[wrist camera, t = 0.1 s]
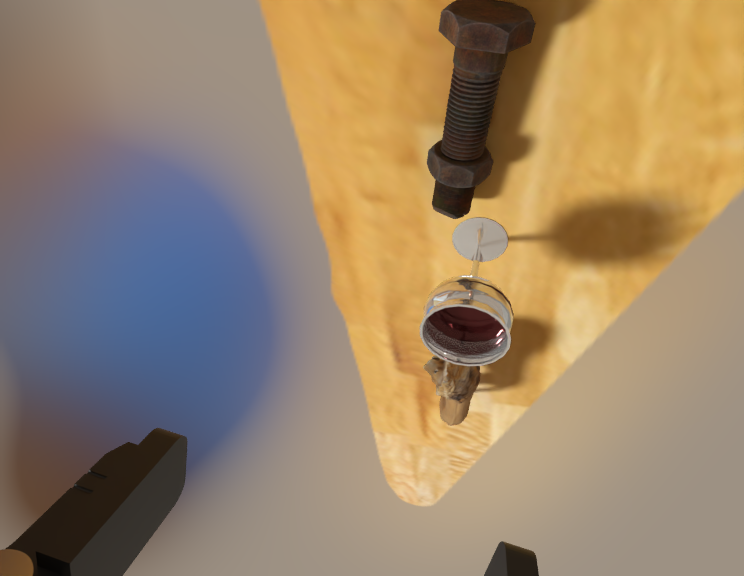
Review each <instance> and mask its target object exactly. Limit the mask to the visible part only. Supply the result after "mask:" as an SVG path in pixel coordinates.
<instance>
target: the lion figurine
mask: <svg viewBox="0 0 744 576" xmlns="http://www.w3.org/2000/svg"><path fill="white" fill-rule="evenodd" d="M423 368H424V370H426V371H427V372H428V373H429V374H430V375H431V377H432V381H433V382H434V383H435V384H436V395H439V396H441V399H440V405H439V406H440V416H441V419H442V420H443V421H444V422H446V423H447V424H448V425H450V426H452V425H457V424H460V423H461V422H462V421H463V420H464V419H465V418H466V416H467V414H468V410H469V405H470V400H471V398H472V395H473V392H474V391H475V390H476V388H477V386H478V384H479V381H480V372H479V371H480V366H463V365H457V364H453V363H450V362H448V361H445V360H442V359H440V358H439V357H438V356H433V357H432V359H431V360H429V361H428V362H427V364H425V365H424V366H423Z"/></svg>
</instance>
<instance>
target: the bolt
mask: <svg viewBox="0 0 744 576" xmlns="http://www.w3.org/2000/svg"><path fill="white" fill-rule="evenodd" d="M534 27H535V21H534V19H533V17H532V15H531V14H530V12H529V11H528V10H527V9H525V8H523V7H520V6H517V5H514V4H512V3H508V2H504V1H495V0H456V1H454V2H452V3H451V4H449V5H448V6H447V7H446V8H445V9H444V10H443V11H442V12H441V18H440V25H439V32H440V33H442V34H443V35H444V36H445V37H446V38H447V39H448V40H449V41H450V42H451V43H452V44H453V45H454V46H455V52H454V59H453V63H454V69H453V74H452V80H451V82H452V83H451V89H450V94H449V99H448V104H447V112H446V117H445V126H444V131H443V132H444V134H443V138H442V140H440V141H439V142H437V143H436V144H435V145H434V146H433V147H432V148H431V149H430V150H429V152H428V159H427V165H428V168H429V171H430V173H431V175H432V176H433V177H434V178H435V179H436V181H435V188H434V195H433V201H432V205H433V209H434V210H435V211H437V212H439V213H441V214H443V215H446V216H448V217H450V218H453V219H457V218H460V217H463V216H464V215H466V214H468V213H469V211H470V207H471V201H472V198H473V194H474V189H475V186H476V185H479V184H480V183H481V182H483V181H484V180H485V179H486V178H487V177H488V176H489V175H490V173H491V169H492V165H493V159H492V157H491V154H490V152H489V151H488V149H487V148H486V147H485V141H486V137H487V133H488V128H489V124H490V119H491V115H492V112H493V111H492V110H493V108H494V106H493V105H494V103H495V99H496V95H497V90H498V86H499V81H500V78H501V77H500V76H501V74H502V70H503V69H504V67H505V63H506V59H507V54H508V52H510V51H512V50H514V49H517V48H519V47H521V46H524V45H526V44H529V43H531V39H532V35H533V31H534Z"/></svg>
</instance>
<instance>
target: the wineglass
mask: <svg viewBox="0 0 744 576" xmlns="http://www.w3.org/2000/svg"><path fill="white" fill-rule="evenodd" d="M452 242H453V244H454V247H455V249H456V250H457V251H458V253H459V254H460V255H462V256H463V257H465V258H466V259H469V260H472V261H473V264H472V268H471V272H470V276H467V275H464V276H456V277H452V278H449V279H447V280H445V281H443V282H441V283H440V284H439V285H438V286H437V287H436V288H435V289H434V290H433V291H432V292H431V293H430V295H429V297H428V300H427V302H426V304H425V306H424V318H423V321H422V323H421V325H420V337H421V339H422V341H423V343H424V345H425V346H426V347H427V348H428V349H429V350H430V351H431V352H432V353H433V354H434V355H436V356H438V357H439V358H441V359H442V360H445V361H448V362H450V363H453V364H457V365H463V366H483V365H486V364H490V363H493V362H495V361H497V360H498V359H500V358H502V357H503V356H504V355H505V354H506V352H507V351H508V350H509V348H510V343H511V336H510V332H511V329H512V324H513V311H512V308H511V304H510V301H509V300H508V298H507V296H506V295H505V293H504V292H503V291H502V290H501V288H500V287H498V286H497V285H495V284H494V283H492V282H491V281H489V280H486V279H483V278H480V277H478V272H479V262H485V261H491V260H493V259H495V258H498V257H499V256H500V255H501V254H502V253H503V252H504V251H505V249H506V247H507V243H508V238H507V234H506V232H505V230H504V229H503V227H502V226H501V225H499V224H498V223H497V222H495V221H493V220H490V219H487V218H472V219H468V220H466V221H464V222H462V223H460V224H459V225H458V226H457V227H456V229H455V231H454V233H453V241H452Z"/></svg>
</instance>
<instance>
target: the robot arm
mask: <svg viewBox="0 0 744 576" xmlns="http://www.w3.org/2000/svg"><path fill="white" fill-rule="evenodd" d="M186 457H187V438H186V437H185V436H182V435H179V434H176V433H173V432H170V431H167V430H164V429H161V428H156V429H154V430H153V431H152V432H150V433H149V434H148V435H147V437H145V439H144V440H143V441H142V442H141V443H140V444H139V445H136V444H133V443H130V442H128V443H126V444H124V445H122V446H120V447H118V448H116V449H114V450H112V451H110V452H108V453H107V454H105V455H104V456H103V457H102V458H101V459H100V460H99V461H98V462H97V463H96V464H95V465H94V466H93V467H92V468H91V469H90V470H89V472H88V473H87V474H84V475H83V476H82V477H81V478H80V479H79V480H78V481H77V482H76V483H75V485H74V487H73V488H70V489H69V490H68V491H67V492H66V493H65V494H64V495H63V496H62V497H61V498H60V499H58V501H56V502H55V503H54V504H53V505H52V506H51V507H50V508H49V509H48V510H47V511H46V512H45V513H44V514H43V515H42V516H41V517H40V518H39V519H38V520H37V521H36V522H35V523H34V524H33V525H31V527H29V528H28V529H27V530H26V531H25V532H24V533H23V534H22V535H21V536H20V537H19V538H18V539H17V540H16V541H15V542H14V543H13V544H11V545H10V546H9V547H7V548H6V549H2V550H0V576H123V574H124V573H125V572H126V570H127V569H128V568H129V566H130V565H131V564H132V562H133V561H134V559H135V558H136V557H137V555H138V554H139V553H140V551H141V550H142V549H143V547H144V546H145V545H146V543H147V542H148V540H149V539H150V538H151V537H152V535H153V534H154V532H155V531H156V530H157V528H158V527H159V526H160V524H161V523H162V522H163V520H164V519H165V518H166V516H167V515H168V513H169V512H170V511H171V509H172V508H173V507H174V505H175V504H176V502H177V500H178V498H179V496H180V495H181V492H182V490H183V487H184V483H185V475H186ZM484 576H539V575H538V566H537V559H536V555H535V553H534V552H533V551H530V550H527V549H524V548H521V547H518V546H515V545H512V544H509V543H506V542H500V543H499V545H498V547H497V549H496V551H495V553H494V555H493V557H492V559H491V562H490V564H489V566H488V568H487V570H486V572H485V574H484Z"/></svg>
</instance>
